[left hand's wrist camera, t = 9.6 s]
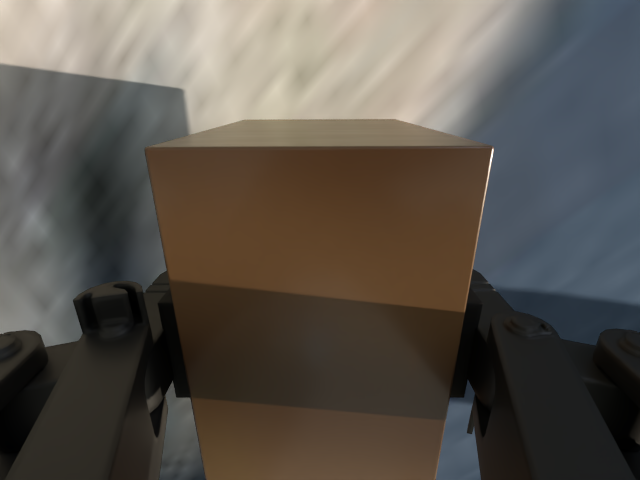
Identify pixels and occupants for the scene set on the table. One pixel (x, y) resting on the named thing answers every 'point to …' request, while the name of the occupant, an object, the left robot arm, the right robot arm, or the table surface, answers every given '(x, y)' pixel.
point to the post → (319, 290)
